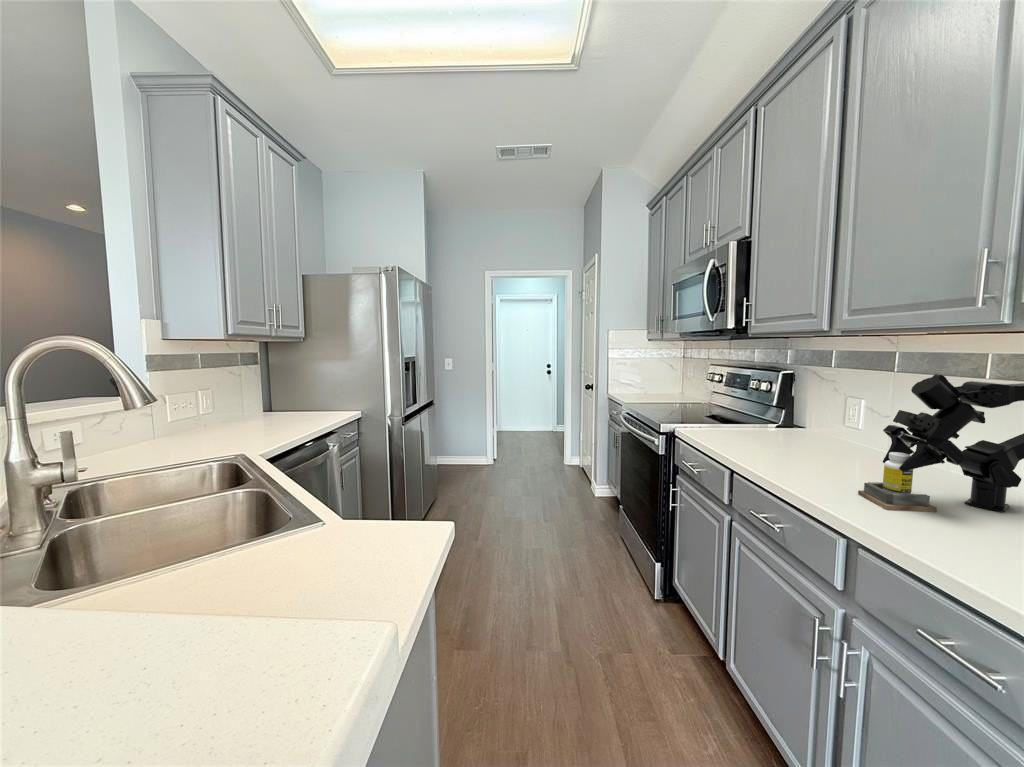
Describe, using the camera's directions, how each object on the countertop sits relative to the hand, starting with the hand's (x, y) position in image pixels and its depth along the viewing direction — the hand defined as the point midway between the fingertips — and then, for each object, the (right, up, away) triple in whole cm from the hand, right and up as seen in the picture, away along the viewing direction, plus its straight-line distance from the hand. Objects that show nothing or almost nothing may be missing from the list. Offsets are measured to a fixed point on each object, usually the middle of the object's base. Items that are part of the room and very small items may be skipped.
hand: (892, 466), depth 108 cm
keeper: (+1, -9, +1) cm, 9 cm away
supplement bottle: (+2, -7, +1) cm, 7 cm away
